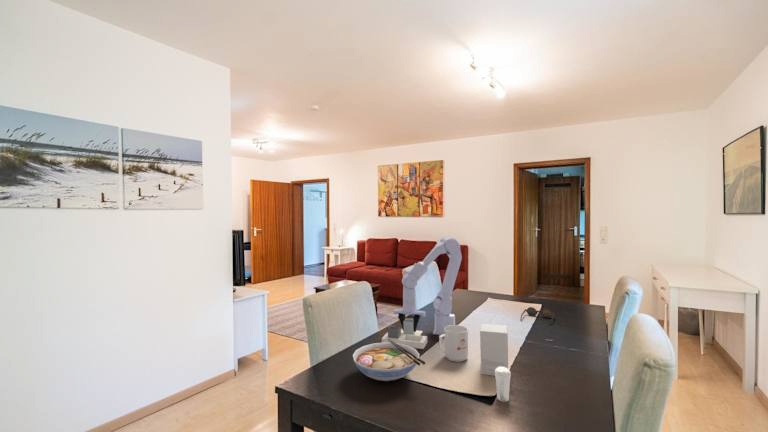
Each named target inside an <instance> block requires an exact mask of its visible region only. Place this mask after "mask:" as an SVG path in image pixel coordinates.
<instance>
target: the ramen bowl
mask: <svg viewBox="0 0 768 432" xmlns="http://www.w3.org/2000/svg"><path fill="white" fill-rule="evenodd" d="M387 340H388V339H387ZM389 340H390V339H389ZM389 340H388V341H389ZM390 342H391V340H390ZM392 342H393V341H392ZM392 342H391V343H388V342H384V343H382V342H375V343H370V344H366V345H363V346H361V347H359V348H356V349H355V351H353V354H352V358H353V362H354V364H355V365H356V367H357V369H358V370H359V371H360V372H361V373H362V374H363V375H365V376H366V377H367V378H368V377H369V378H370V379H373V380H377V381H382V382H390V381H396V380H399V379H401V378H403V377H405V376H407V375H408V374H410V373H411V372H412V371H413V370H414V368H415V367H416V365H417V366H421V364H422V365H424V366H425V365H426V362H425V361H424V360H423V359H420V353H419V352H418V349H417V348H412V347H410V346H408V345H404V344H399V343H394V342H393V343H392Z"/></svg>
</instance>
